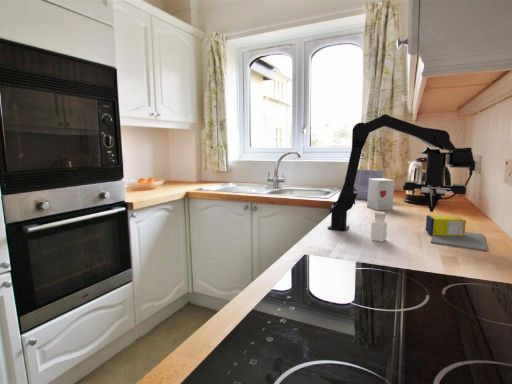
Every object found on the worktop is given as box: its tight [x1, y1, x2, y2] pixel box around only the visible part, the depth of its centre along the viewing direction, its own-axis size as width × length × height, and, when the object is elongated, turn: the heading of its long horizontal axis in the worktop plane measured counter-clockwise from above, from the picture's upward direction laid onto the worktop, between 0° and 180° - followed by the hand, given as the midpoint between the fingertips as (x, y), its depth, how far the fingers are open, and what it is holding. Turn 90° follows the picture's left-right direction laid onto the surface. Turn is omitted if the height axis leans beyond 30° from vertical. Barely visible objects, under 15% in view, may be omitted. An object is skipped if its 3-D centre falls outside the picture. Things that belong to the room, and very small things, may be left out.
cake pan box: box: [354, 168, 384, 201], centre depth 183 cm, size 19×5×18 cm, turn 58°
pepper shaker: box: [370, 211, 388, 243], centre depth 105 cm, size 4×4×10 cm
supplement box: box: [424, 214, 467, 237], centre depth 111 cm, size 6×6×11 cm
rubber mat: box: [430, 231, 488, 252], centre depth 107 cm, size 20×15×1 cm
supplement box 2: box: [366, 177, 395, 211], centre depth 157 cm, size 9×9×15 cm
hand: (431, 211), depth 110 cm, fingers closed
